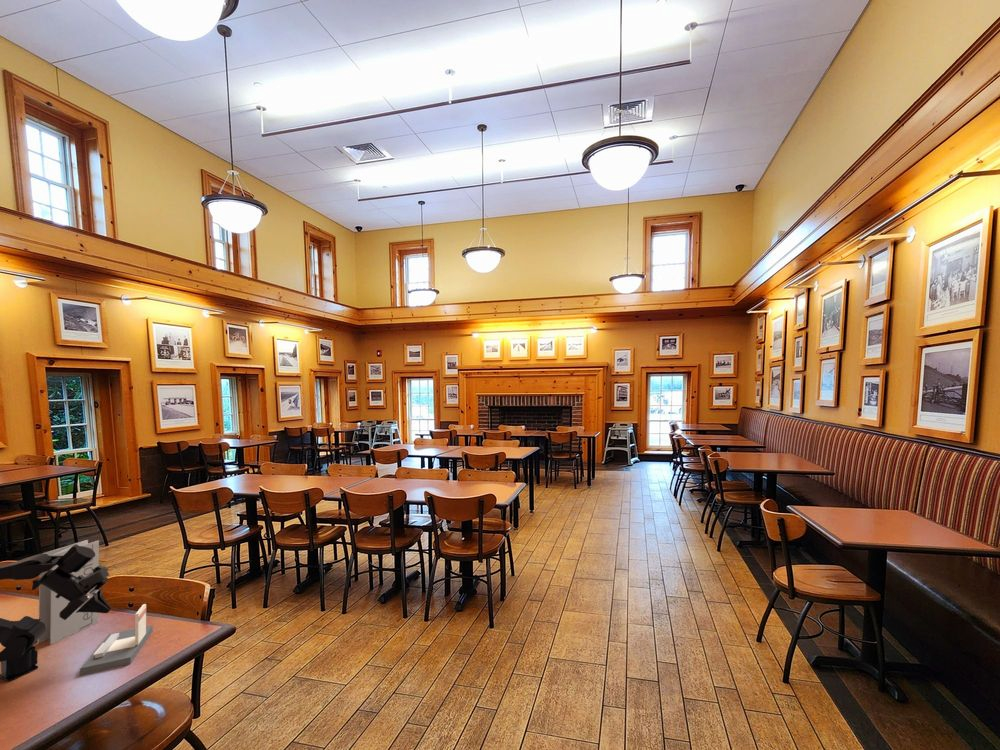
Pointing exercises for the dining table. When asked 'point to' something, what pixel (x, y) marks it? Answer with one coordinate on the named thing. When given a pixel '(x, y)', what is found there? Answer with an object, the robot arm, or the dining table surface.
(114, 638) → the board
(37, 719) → the dining table surface
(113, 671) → the dining table surface
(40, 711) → the dining table surface
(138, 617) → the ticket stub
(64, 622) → the brochure
